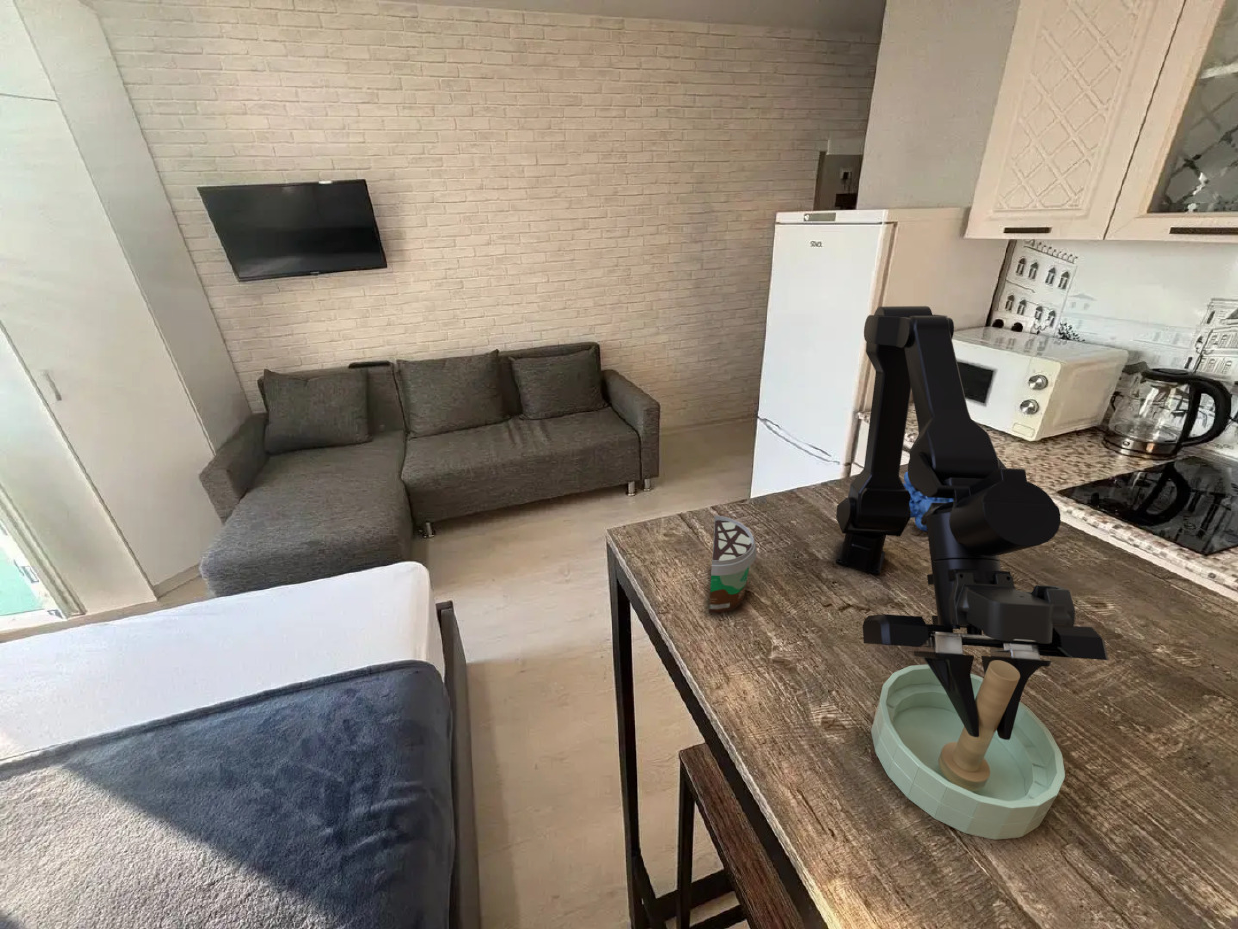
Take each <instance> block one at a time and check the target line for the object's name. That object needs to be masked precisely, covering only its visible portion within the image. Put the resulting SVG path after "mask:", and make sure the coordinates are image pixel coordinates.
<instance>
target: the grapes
mask: <svg viewBox="0 0 1238 929" xmlns="http://www.w3.org/2000/svg"><path fill="white" fill-rule="evenodd" d="M903 481H904V482H903V484H904V486H905V488H906V490H908V491H909V493H910V496H911V498H910V502H909V505H910V510H911V514H910V515H911V517H910V519H913V518H914V524H915V526H916V527H917V528H918V530H920V531H923V532H927V526H926V525H922V524H921V519H922V516H923V514H925V513H926V512H927V511H928V509H929V508H930V505H931V503H933V502H935V503H948V502H953V498H931V497H927V496H923V495H922V494H921V493H920V492H917V491H916V490H915V489H914V486H913V485H912V484H911V483H910V481H909V478H908V470H906V472H905V473H904V474H903Z"/></svg>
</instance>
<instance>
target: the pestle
mask: <svg viewBox="0 0 1238 929" xmlns="http://www.w3.org/2000/svg"><path fill="white" fill-rule="evenodd" d="M982 678H983V681H982V683H981V686H980V688H979V691H978V693H977V695H976V698H975V703H976V709H977V714H978V721H979V737H973V736H970V735H969V734H968V732H967V730H966V728H965V727H963V730H962V732H961V735H960V737H959V740H958V742H950V743H947V744H945V745H944V746H943V748H942V751H941V753H940V756H939V759H938V763H939V767H940V769H941V771H942V773H943V774H944V776H945V777H946V778H947V779H948V780H949V781H950V782H952V783H953V784H955V785H957V786H959V787H962V788H964V789H966V790H968V791H978V790H981V789H982V788H983V787H984V786H985V784H986V782H987V780H988V778H989V776H990V768H989V765H988V763H987V761H986V760H985V758H984V756H985V754H986V752H987V749H988V747H989V745H990V743H991V741H992V738H993V736H994V734H995V732H996V730H997V727H998V725H999V723H1000V721H1001V718H1002V716H1003V714H1004V712H1005V710H1006V707H1007V705H1008V703H1009V701H1010V699H1011V696H1012V694H1013V692H1014V690H1015V688H1016V685H1017V683H1018V681H1019V679H1020V673H1019V671H1018V670H1017V669H1016V668H1015V667H1014V666H1012V665H1011V664H1009V663H1007V662H1004V661H1000V660H994V661H991V662H990V663H989V666H988V668H987V671H986V673H985V674H984V675H983V677H982Z"/></svg>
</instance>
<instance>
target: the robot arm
mask: <svg viewBox="0 0 1238 929" xmlns="http://www.w3.org/2000/svg"><path fill="white" fill-rule="evenodd" d="M954 332H955V323H954V321H953V319H952V318H951V317H948V315H943V314H933V312H932V309H931V308H930V307H929V306H927V305H909V306H908V305H907V306H906V305H902V306H901V305H897V306H896V305H895V306H894V305H893V306H892V305H890V306H888V305H887V306H878V307H877V308H876V309H875V311H874V313H873V314H869V315H868V316H867V317H866V319H865V322H864V327H863V339H864V341H865V342H866V343H865V354H866V356H867V358H868V359H869V361H870V363H871V365H872V367H873V368H874V371H875V374H874V375H875V376H874V384H873V391H872V398H871V399H872V400H871V407H870V416H869V425H868V432H867V439H866V440H867V441H866V447H865V448H866V449H865V456H864V464H863V469H862V470H861V471H860V472H859V474H858V475H857V476H856V477H855V478H854V479H853V481H851V483H850V485H849V490H848V495H847V497H845V498H844V499H843V500H842V501H841V502H839V503H838V504H836V516H835V518H836V521H837V524H838V526H839V529H840V531H841V533H842V534H844V538H843V541H842V542H841V545H840V547H839V551H838V552H837V556H836V557H835V563H836V564H838V565H841V566H844V567H847V568H851V569H855V570H858V571H861V572H865V573H867V574H871V575H875V576H879V575H880V574H881V571H882V570H881V569H882V567H883V563H884V559H885V555H886V552H885V551H884V547H885V542H886V538H887V536H893V537H897V538H898V537H899V538H900V537H902V534H903V532H904V531H905V529H906V527H907V525H908V524H909V522H910V519H911V518H910V517H911V515H910V514H911V510H910V505H909V502H910V498H911V496H910V493H909V491H908V490H906V488H905V486H904V484H903V483H904V482H903V481H902V479H901V477H900V470H901V465H902V457H903V450H904V444H905V443H904V442H905V436H906V430H907V420H908V414H909V408H910V400H911V394H912V398H913V399H912V400H913V405H914V406H913V407H914V412H915V416H916V423H917V430H918V432H917V433H918V435H917V437H916V438H915V440H914V442H913V444H912V445H911V447H910V449H909V458H908V464H907V471H908V478H909V481H910V483H911V484H912V485H913V486H914V489H915V490H916V491H917V492H920V493H921V494H922V495H923V496H927V497H931V498H953V502H948V503H935V502H933V503H931V505H930V508H929V509H928V511H927V512H926V513H925V514H923V516H922V519H921V524H922V525H926V526H927V531H926V532H927V533H926V534H927V540H928V547H929V549H928V550H929V557H930V565H931V573H929V574H926V578H927V585H928V586H933V590H934V599H935V600H934V601H935V607H936V614H935V615H931V621H932V623H931V624H930V623H926V621H925V619H924V617H923V616H921V615H920V616H919V615H918V616H916V615H903V614H902V615H901V614H887V613H886V614H885V613H883V614H882V613H881V614H872V615H867V617H866V618H865V619H864V620H863V623H862V639H863V644H866V645H882V646H895V647H896V646H899V647H911V648H918V649H919V651H918V650H913V657H917V658H923V659H924V660H925V663H926V664H928V665H929V667H930V668H931V670H932V671H933V673H934V674H935V676H936V677H937V679H938V680H939V682H940V683H941V685H942V686H943V688H944V690H945V692H946V694H947V695H948V697H949V699H950V701H951V703H952V704H953V706H954V708H955V710H956V712H957V714H958V716H959V717H960V719H961V721H962V723H963V725H964V727H965V728H966V730H967V732H968V734H969V735H970V736H973V737H979V721H978V714H977V709H976V703H975V698H974V692H973V687H972V681H971V675H970V673H971V672H972V668H973V663H974V660H975V655H973V654H972V655H971V654H964V653H965V652H964V648H963V647H964V646H967V647H968V646H969V647H980V648H981V647H983V648H989V653H990V655H980V658H981V664H982V668H983V674H984V675H985V673H986V671H987V668H988V666H989V663H990V662H991V661H994V660H1000V661H1004V662H1007V663H1009V664H1011V665H1012V666H1014V667H1015V668H1016V669H1017V670H1018V671H1019V673H1020V679H1019V681H1018V683H1017V685H1016V688H1015V690H1014V692H1013V694H1012V696H1011V699H1010V701H1009V703H1008V705H1007V707H1006V710H1005V712H1004V714H1003V716H1002V718H1001V721H1000V723H999V725H998V727H997V733H998V736H999V738H1001V739H1004V740H1010V738H1011V734H1012V730H1013V726H1014V722H1015V718H1016V714H1017V710H1018V706H1019V702H1021V699H1022V695H1023V692H1024V690H1025V688H1026V685H1027V682H1028V680H1029V679H1030V678H1031V676H1033V675H1034V673H1036V672H1037V671H1038V670H1039V669H1040V668H1043V667H1045V668H1048V667H1050V666H1051V663H1052V660H1043V659H1042V660H1041V657H1053V658H1054V657H1055V658H1068V659H1085V660H1096V661H1097V660H1098V661H1099V660H1101V661H1109V656H1108V651H1107V647H1106V641H1105V639H1103V638H1102V636H1101V635H1100V634H1099V633H1098V632H1097V631H1096V630H1095V629H1094V628H1093V627H1092V626H1081V625H1080V626H1079V625H1078V626H1077V625H1075V624H1076V609H1075V608H1076V607H1075V604H1074V601H1073V597H1072V594H1071V591H1070V589H1067V588H1065V587H1061V586H1060V585H1047V584H1044V585H1043V584H1036V585H1034V586H1033V589H1032V591H1025V590H1018V589H1017V588H1016V586H1015V582H1014V581H1015V580H1014V577H1013V576H1012V574H1011V570H1002V567H1001V561H1000V556H1002V555H1007V554H1009V553H1015V552H1018V551H1021V550H1025V549H1029V548H1033V547H1037V546H1041V545H1044V544H1045V543H1048V542H1049V541H1050V540H1052V539H1053V538H1054V537H1055V536H1056V535H1057V533H1058V532H1059V530H1060V526H1061V522H1062V521H1061V512H1060V508H1059V506H1058V505H1056V503H1055V502H1054V500H1053V499H1052V497H1051V496H1050V495H1049V494H1048V493H1047V492H1046V491H1045V490H1044V489H1043V488H1041V487H1040V486H1038V485H1036V484H1034V483H1032V482H1030V481H1028V479H1027V473H1026V470H1025V468H1016V467H1015V468H1012V467H1006V465H1005V464H1004V463H1003V461H1001V459H1000V458H999V456H998V454H997V452H996V449H995V446H994V444H993V441H992V439H991V435H990V434H989V432H987V431H986V430H985V429H983V427H982V426H980V424H978V423H977V422H976V421H974V420H973V419H972V417H971V415H970V412H969V409H968V404H967V400H966V395H965V390H964V387H963V382H962V379H961V378H962V377H961V373H960V369H959V365H958V361H957V356H956V351H955V346H954V343H953V337H954ZM961 629H966V630H965V631H966V633H961V632H954V630H961ZM971 674H972V673H971Z"/></svg>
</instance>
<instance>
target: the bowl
mask: <svg viewBox="0 0 1238 929" xmlns="http://www.w3.org/2000/svg"><path fill="white" fill-rule="evenodd" d="M970 675H971V681H972V687H973V692H974V698H976V695H977V693H978V691H979V688H980V686H981V683H982V681H983V678H984V677H982V676H980V675H977V674H974V673H970ZM963 727H964V725H963V723H962V721H961V719H960V717H959V716H958V714H957V712H956V710H955V708H954V706H953V704H952V703H951V701H950V699H949V697H948V695H947V694H946V692H945V690H944V688H943V686H942V685H941V683H940V682H939V680H938V679H937V677H936V676H935V674H934V673H933V671H932V670H931V668H930V667H929V665H928V664H927V663H925V664H914V665H909V666H906V667H904V668H902V669H899V670H896V671H895V672H893V673H891V675H890V676H889V677H888V679H887V680H886V681H885V682H884V683H883V684H882V687H881V690H880V695H879V698H878V702H877V705H876V709H875V712H874V715H873V721H872V725H871V730H870V732H871V738H872V743H873V748H874V753H875V755H876V756H877V758H878V760H879V762H880V764H881V766H882V767H883V769H884V771H885V774H886V775H887V776H888V778H889V779H890V780H891V781H892V783H893V784H895V785H896V787H897V788H898V789H899V790H900V791H901V792H902V794H904V796H905V797H906V798H907V799H908V800H909V801H911V802H912V803H914V805H916V807H918V808H920V809H921V810H923V811H924V812H925V813H926V814H927V815H929V816H931V817H932V818H933V819H935V820H936V821H938V822H941V823H943V824H944V825H947V826H949V827H951V828H953V829H955V830H957V831H959V832H962V833H963V834H967V835H971V836H976V837H980V838H985V839H989V840H994V841H996V840H1006V839H1007V840H1008V839H1017V838H1023V837H1024V836H1026V835H1027V834H1029V833H1030V832H1032V831H1033V830H1035V829H1037V828H1038V827H1040V825H1041V824H1042V822H1043V821H1044V819H1045V817H1046V816H1047V813H1049V810H1050V808H1051V807H1052V805H1053V804H1054V802H1055V800H1056V798H1057V797H1058V795H1059V793H1060V791H1061V788H1062V786H1063V783H1064V781H1065V778H1066V772H1065V764H1064V758H1063V753H1062V751H1061V749H1060V747H1059V745H1058V744H1057V742H1056V740H1055V739H1054V736H1053V735H1052V733H1051V731H1050V730H1049V729H1048V728H1047V726H1046V725H1045V724H1044V723H1043V722H1042V720H1040V718H1038V716H1037V715H1036V714H1035V713H1034V712H1033V710H1031V709H1030V707H1028V706H1026V705H1025V704H1024V703H1023V702H1021V701H1020V702H1019V706H1018V710H1017V714H1016V718H1015V722H1014V726H1013V730H1012V734H1011V738H1010V740H1004V739H1001V738H999V736H998V733H997V730H996V732H995V734H994V736H993V738H992V741H991V743H990V745H989V747H988V749H987V752H986V754H985V756H984V758H985V760H986V761H987V763H988V765H989V768H990V776H989V778H988V780H987V782H986V784H985V786H984V787H983V788H982V789H981V790H978V791H968V790H966V789H964V788H962V787H959V786H957V785H955V784H953V783H952V782H950V781H949V780H948V779H947V778H946V777H945V776H944V774H943V773H942V771H941V769H940V767H939V763H938V759H939V756H940V753H941V751H942V748H943V746H944V745H945V744H947V743H950V742H958V740H959V737H960V735H961V732H962V730H963Z"/></svg>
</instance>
